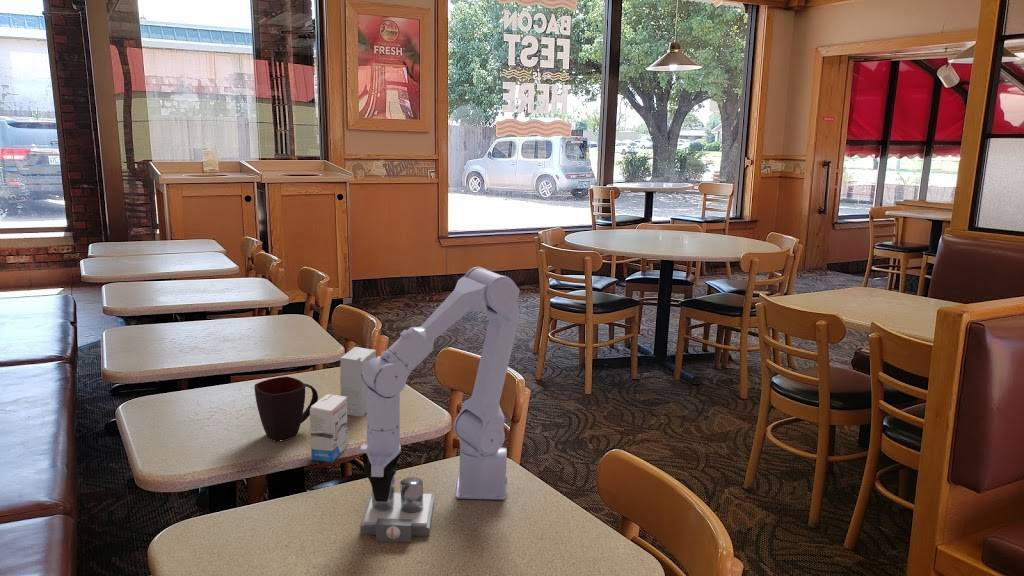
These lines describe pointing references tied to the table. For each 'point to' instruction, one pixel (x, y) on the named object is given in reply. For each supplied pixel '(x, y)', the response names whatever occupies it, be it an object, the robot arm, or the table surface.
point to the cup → (282, 406)
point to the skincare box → (355, 379)
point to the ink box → (328, 427)
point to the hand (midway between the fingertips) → (383, 493)
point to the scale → (398, 521)
